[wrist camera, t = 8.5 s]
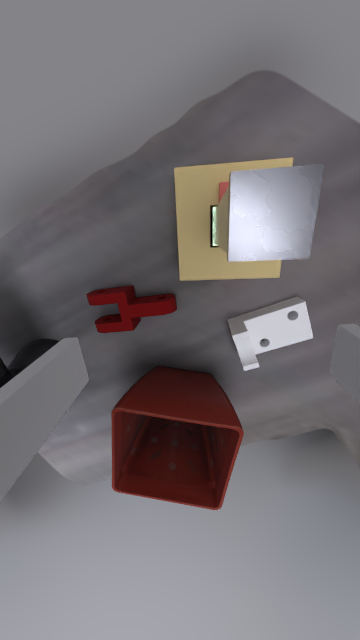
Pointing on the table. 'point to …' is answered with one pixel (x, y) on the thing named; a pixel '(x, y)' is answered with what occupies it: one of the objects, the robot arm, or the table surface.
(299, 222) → the column
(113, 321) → the mechanical linkage
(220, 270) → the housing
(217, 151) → the table surface
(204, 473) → the plant pot
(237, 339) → the bracket
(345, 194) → the table surface
